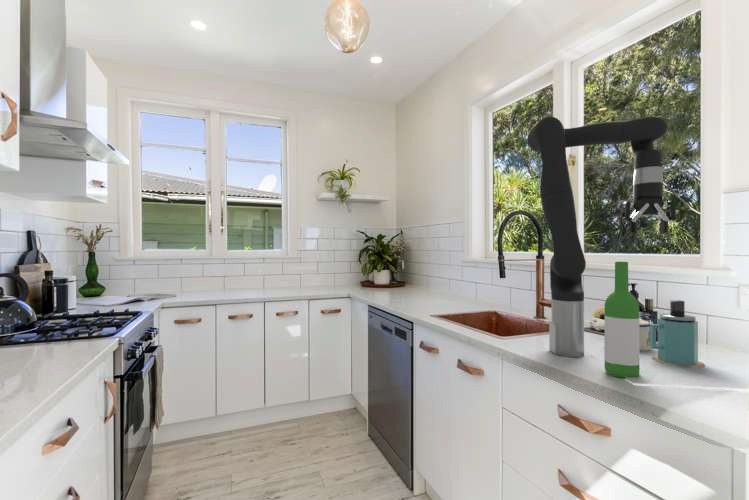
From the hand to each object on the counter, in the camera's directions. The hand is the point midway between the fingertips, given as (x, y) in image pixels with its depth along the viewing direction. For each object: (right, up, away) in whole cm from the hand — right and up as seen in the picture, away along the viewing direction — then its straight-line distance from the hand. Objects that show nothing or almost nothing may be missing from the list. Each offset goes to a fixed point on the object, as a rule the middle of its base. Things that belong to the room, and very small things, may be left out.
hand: (648, 234), depth 117 cm
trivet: (+2, -38, -9) cm, 39 cm away
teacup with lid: (0, -38, +8) cm, 39 cm away
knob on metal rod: (+2, -35, -9) cm, 36 cm away
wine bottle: (-21, -38, -19) cm, 48 cm away
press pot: (0, -38, -9) cm, 39 cm away
